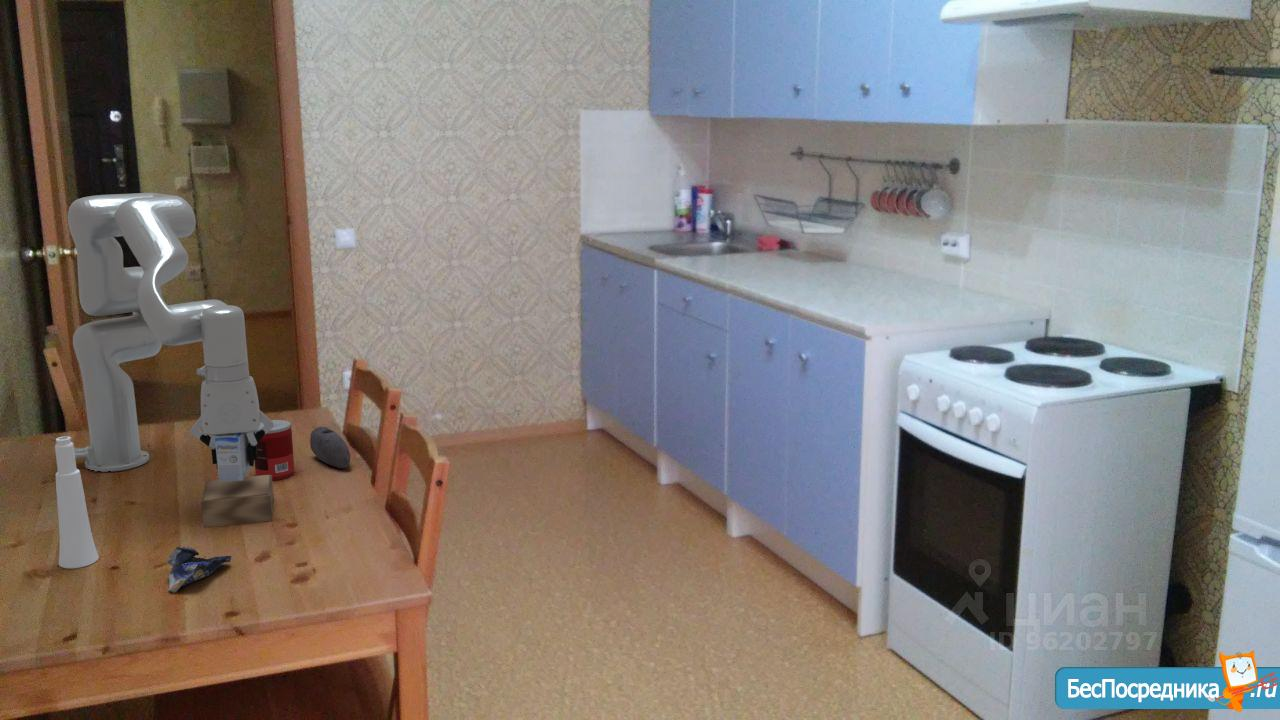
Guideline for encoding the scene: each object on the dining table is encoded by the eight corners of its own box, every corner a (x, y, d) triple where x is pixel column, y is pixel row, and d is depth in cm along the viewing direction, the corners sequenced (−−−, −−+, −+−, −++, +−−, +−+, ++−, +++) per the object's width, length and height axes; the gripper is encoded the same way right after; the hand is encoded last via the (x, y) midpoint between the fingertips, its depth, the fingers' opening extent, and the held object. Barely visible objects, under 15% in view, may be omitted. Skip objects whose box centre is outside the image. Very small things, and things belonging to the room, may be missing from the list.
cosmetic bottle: (71, 571, 177) (55, 445, 172) (51, 563, 180) (34, 439, 175) (106, 559, 182) (91, 436, 176) (85, 551, 185) (70, 430, 180)
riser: (203, 527, 195) (201, 501, 194) (208, 505, 207) (206, 479, 205) (272, 520, 199) (270, 494, 198) (273, 498, 210) (271, 473, 209)
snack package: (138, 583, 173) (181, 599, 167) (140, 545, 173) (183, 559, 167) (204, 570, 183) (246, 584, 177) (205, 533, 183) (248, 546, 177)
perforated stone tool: (358, 470, 227) (356, 439, 225) (335, 475, 224) (333, 444, 222) (331, 453, 239) (329, 423, 237) (309, 457, 236) (306, 427, 234)
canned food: (300, 469, 227) (296, 420, 225) (284, 481, 220) (280, 431, 217) (266, 468, 228) (262, 419, 226) (249, 480, 220) (245, 430, 218)
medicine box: (230, 468, 205) (225, 425, 203) (253, 467, 205) (249, 424, 203) (218, 482, 197) (213, 437, 195) (243, 481, 197) (238, 436, 195)
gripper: (175, 380, 190) (185, 476, 195) (275, 373, 195) (282, 467, 200) (179, 371, 197) (189, 464, 202) (276, 364, 202) (283, 455, 207)
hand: (235, 464), depth 201 cm, fingers closed on medicine box, 5 cm apart
